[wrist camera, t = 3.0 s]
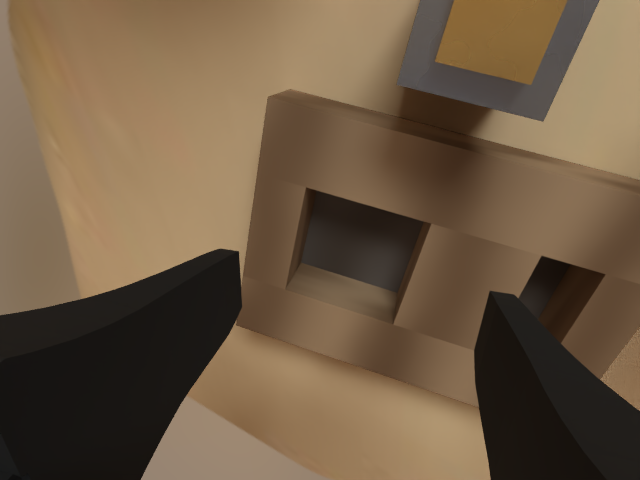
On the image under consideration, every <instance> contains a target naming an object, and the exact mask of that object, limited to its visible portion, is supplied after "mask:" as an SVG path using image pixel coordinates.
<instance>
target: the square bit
mask: <svg viewBox="0 0 640 480" xmlns="http://www.w3.org/2000/svg"><path fill="white" fill-rule="evenodd" d="M598 2H599V0H420V3H419V7H418V10H417V14H416V17H415V21H414V25H413V28H412V32H411V35H410V39H409V42H408V46H407V50H406V53H405V57H404V60H403V64H402V67H401V71H400V74H399V78H398V82H397V85H400V86H404V87H408V88H412V89H416V90H420V91H423V92H427V93H431V94H435V95H439V96H443V97H447V98H451V99H455V100H459V101H463V102H467V103H471V104H475V105H479V106H483V107H487V108H491V109H495V110H499V111H503V112H507V113H511V114H515V115H519V116H523V117H527V118H531V119H535V120H539V121H544V119H545V117H546V115H547V112H548V110H549V108H550V106H551V104H552V102H553V99H554V97H555V95H556V93H557V91H558V89H559V87H560V84H561V82H562V80H563V78H564V76H565V74H566V71H567V69H568V67H569V65H570V63H571V61H572V58H573V56H574V54H575V52H576V50H577V48H578V46H579V43H580V41H581V39H582V37H583V35H584V33H585V30H586V28H587V26H588V24H589V22H590V20H591V17H592V15H593V13H594V11H595V9H596V7H597V4H598Z"/></svg>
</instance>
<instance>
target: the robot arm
mask: <svg viewBox="0 0 640 480" xmlns="http://www.w3.org/2000/svg"><path fill="white" fill-rule="evenodd" d="M241 309H242V295H241V279H240V263H239V251H233V250H226V249H217V250H214V251H211V252H209V253H206V254H203V255H201V256H199V257H196V258H194V259H192V260H189V261H187V262H184V263H182V264H180V265H177V266H175V267H173V268H170V269H168V270H166V271H163V272H161V273H158V274H156V275H153V276H150V277H148V278H145V279H143V280H140V281H137V282H135V283H132V284H130V285H127V286H124V287H121V288H118V289H115V290H112V291H109V292H105V293H102V294H98V295H95V296H92V297H88V298H84V299H80V300H76V301H72V302H67V303H63V304H59V305H55V306H51V307H46V308H41V309H35V310H30V311H24V312H19V313H13V314H6V315H0V480H141V478H142V476H143V474H144V472H145V470H146V468H147V465H148V464H149V462H150V460H151V458H152V456H153V454H154V452H155V450H156V448H157V446H158V444H159V443H160V441H161V438H162V437H163V435H164V433H165V431H166V430H167V428H168V426H169V424H170V422H171V421H172V419H173V417H174V415H175V413H176V412H177V410H178V408H179V406H180V404H181V403H182V401H183V400H184V398H185V397H186V395H187V394H188V392H189V391H190V389H191V388H192V386H193V385H194V383H195V382H196V381H197V379H198V378H199V376H200V375H201V373H202V372H203V371H204V369H205V368H206V366H207V365H208V364H209V362H210V361H211V359H212V358H213V356H214V355H215V354H216V352H217V351H218V349H219V348H220V346H221V345H222V343H223V342H224V341H225V339H226V338H227V336H228V335H229V333H230V331H231V329H232V327H233V325H234V323H235V321H236V319H237V317H238V315H239V313H240V311H241ZM474 370H475V386H476V392H477V398H478V404H479V410H480V416H481V422H482V427H483V433H484V439H485V444H486V450H487V456H488V462H489V469H490V477H491V480H640V411H639V410H637V409H636V408H635V407H633V406H632V405H631V404H629V403H628V402H627V401H626V400H624V399H623V398H622V397H621V396H619V395H618V394H617V393H616V392H614V391H613V390H612V389H611V388H609V387H608V386H607V385H606V384H604V383H603V382H602V381H601V380H600V379H598V378H597V377H596V376H595V375H594V374H593V373H592V372H590V371H589V370H588V369H587V368H586V367H585V366H584V365H583V364H582V363H581V362H580V361H578V360H577V359H576V358H575V357H574V356H573V355H572V354H571V353H570V352H569V351H568V350H567V349H566V348H565V347H564V346H563V345H562V344H561V343H560V342H559V341H558V340H557V339H556V338H555V337H554V336H553V335H552V334H551V333H550V332H549V331H548V330H547V329H546V328H545V327H544V326H543V325H542V324H541V322H540V321H539V320H538V319H537V318H536V317H535V316H534V315H533V314H532V313H531V312H530V310H529V309H528V308H527V307H526V306H525V305H524V304H523V303H522V302H521V301H520V300H519V299H518V298H517V297H516V296H515V295H514V294H508V293H502V292H495V291H489V295H488V299H487V303H486V307H485V310H484V314H483V318H482V322H481V326H480V329H479V333H478V337H477V341H476V345H475V348H474Z"/></svg>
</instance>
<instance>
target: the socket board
mask: <svg viewBox="0 0 640 480" xmlns="http://www.w3.org/2000/svg"><path fill="white" fill-rule="evenodd" d="M489 291H495V292H502V293H508V294H514V295H515V296H516V297H517V298H518V299H519V300H520V301H521V302H522V303H523V304H524V305H525V306H526V307H527V308H528V309H529V310H530V312H531V313H532V314H533V315H534V316H535V317H536V318H537V319H538V320H539V321H540V322H541V324H542V325H543V326H544V327H545V328H546V329H547V330H548V331H549V332H550V333H551V334H552V335H553V336H554V337H555V338H556V339H557V340H558V341H559V342H560V343H561V344H562V345H563V346H564V347H565V348H566V349H567V350H568V351H569V352H570V353H571V354H572V355H573V356H574V357H575V358H576V359H577V360H578V361H580V362H581V363H582V364H583V365H584V366H585V367H586V368H587V369H588V370H589V371H590V372H592V373H593V374H594V375H595V376H596V377H597V378H598V379H600V378H601V377H602V376H603V374H604V373H605V372H606V370H607V369H608V368H609V366H610V365H611V364H612V362H613V361H614V360H615V358H616V357H617V356H618V354H619V353H620V352H621V350H622V349H623V348H624V347H625V345H626V344H627V343H628V341H629V340H630V339H631V337H632V336H633V335H634V333H635V332H636V331H637V329H638V328H639V327H640V180H636V179H632V178H628V177H624V176H621V175H617V174H613V173H609V172H605V171H601V170H598V169H594V168H590V167H586V166H582V165H578V164H575V163H571V162H567V161H563V160H559V159H555V158H552V157H548V156H544V155H540V154H536V153H533V152H529V151H525V150H521V149H517V148H513V147H510V146H506V145H502V144H498V143H494V142H490V141H487V140H483V139H479V138H475V137H471V136H467V135H464V134H460V133H456V132H452V131H448V130H444V129H441V128H437V127H433V126H429V125H425V124H421V123H418V122H414V121H410V120H406V119H402V118H398V117H395V116H391V115H387V114H383V113H379V112H375V111H372V110H368V109H364V108H360V107H356V106H353V105H349V104H345V103H341V102H337V101H333V100H330V99H326V98H322V97H318V96H314V95H310V94H307V93H303V92H299V91H295V90H291V89H290V90H287V91H284V92H281V93H278V94H275V95H272V96H269V97H268V99H267V106H266V113H265V121H264V128H263V135H262V142H261V150H260V157H259V164H258V171H257V178H256V186H255V193H254V200H253V207H252V214H251V222H250V229H249V236H248V243H247V251H246V258H245V265H244V272H243V279H242V287H241V295H242V309H241V311H240V313H239V315H238V317H237V323H236V325H237V326H240V327H243V328H246V329H249V330H252V331H255V332H258V333H261V334H264V335H267V336H270V337H273V338H276V339H278V340H281V341H284V342H287V343H290V344H293V345H296V346H299V347H302V348H305V349H308V350H311V351H314V352H317V353H320V354H323V355H326V356H329V357H331V358H334V359H337V360H340V361H343V362H346V363H349V364H352V365H355V366H358V367H361V368H364V369H367V370H370V371H373V372H376V373H379V374H382V375H384V376H387V377H390V378H393V379H396V380H399V381H402V382H405V383H408V384H411V385H414V386H417V387H420V388H423V389H426V390H429V391H432V392H435V393H437V394H440V395H443V396H446V397H449V398H452V399H455V400H458V401H461V402H464V403H467V404H470V405H473V406H476V407H479V404H478V398H477V392H476V386H475V370H474V348H475V345H476V341H477V337H478V333H479V329H480V326H481V322H482V318H483V314H484V310H485V307H486V303H487V299H488V295H489Z"/></svg>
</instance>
